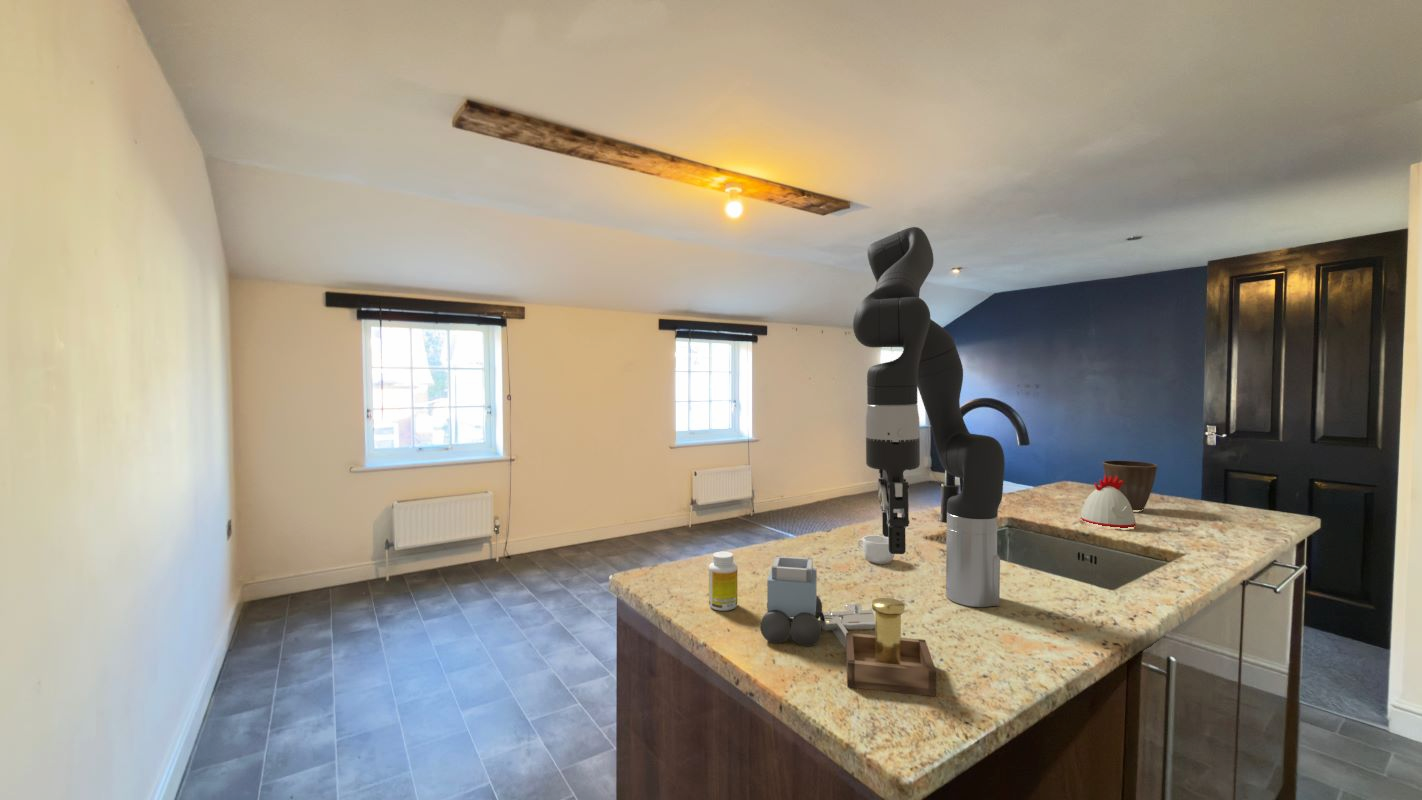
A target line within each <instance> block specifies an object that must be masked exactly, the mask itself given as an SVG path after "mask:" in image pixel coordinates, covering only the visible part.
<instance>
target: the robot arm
mask: <svg viewBox="0 0 1422 800" xmlns="http://www.w3.org/2000/svg"><path fill="white" fill-rule="evenodd" d="M867 247H868V248H867V259H868V263H869V266H870V269H871V273H872V274H873V276H874V279H875V281H876V285H875V287H874V290H873V291H872V292H871V293H869V294H868V295H866V296H865V297H864V298H863V299H862V300H861V302H860V303H859V304H858V306H857V308H856V310H855V313H854V315H853V323H852V329H853V334H854V336H855V338H856V339H857V341H858V342H859V343H860V344H862V345H863V346H865V347H867V348H893V347H894V348H895V347H896V348H897V347H902V349H903V351H902V353H901V355H900V356H899V357H897V358H896V359H894V360H890V361H888V362H881V363H878V364H875V365H872V366H871V367H869V368H868V370H867V373H866V374H867V376H866V386H867V387H866V388H867V390H866V392H867V393H866V394H867V396H866V397H867V398H866V400H867V403H866V404H867V405H866V406H867V408H866V416H865V417H866V418H865V464H866V466H867V467H869V468H870V469H874V470H878V473H879V478H877V488H878V502H879V505H880V507H879V508H880V511H881V512H882V513H881V514H882V515H881V516H882V517H881V521H882V523H881V525H882V527H881V528H882V530H881V531H882V532H881V533H882V536H885V537H888V544H889V552H890V553H891V554H895V555H904V554H905V553H906V552H907V551H906V528H907V527H909V526H910V525H909V524H910V519H909V509H910V508H909V507H910V504H909V503H910V502H909V490H910V486H909V481H907V480H906V478H904V472H905V471H913V470H916V469H918V468H919V467H920V465H921V458H920V456H921V455H920V454H921V453H920V452H921V450H920V446H921V445H920V443H921V441H920V440H921V439H920V435H921V433H920V432H921V431H920V414H919V408H918V392H919V396H920V397H921V401H922V403H923V407H924V409H925V412H926V415H927V417H928V421H929V424H930V425H929V426H930V428H931V433H932V437H933V440H934V445H935V449H936V452H937V456H938V459H939V462H940V464H941V467H942V468H943V470H944V471H945V472H946V473H948V474H949V475H950V476H953V477H956V478H959V479H962V487H961V492H960V493H958V494H956V495H952V496H950V497H949V498H948V499H947V501H946V547H945V548H946V553H945V554H946V556H945V559H946V561H945V563H946V565H945V567H946V568H945V597H946V598H947V599H948V600H950V601H952V602H954V603H956V604H959V605H962V606H966V607H973V608H988V607H992V606H996V607H997V606H999V607H1000V598H1001V597H1000V593H1001V592H1000V589H1001V587H1000V585H1001V583H1000V582H1001V580H1000V579H1001V557H1000V555H998V510H999V507H1000V505H1001V503H1002V501H1003V495H1004V494H1003V491H1004V490H1003V489H1004V479H1005V454H1004V453H1005V452H1004V449H1003V447H1002V445H1001V443H1000V442H999V441H998V440H997V439H996V438H995V437H992V436H989V435H984V434H977V433H970V432H969V429H968V427H967V425H966V422H965V421H964V417H963V415H962V411H961V405H960V403H961V402H960V401H961V394H962V387H963V380H964V368H963V364H962V360H961V357H960V354H959V351H958V348H957V346H956V343H955V341H954V338H953V336H952V335H951V334H950V332H948V330H946V329H945V328H944V327H942V326H941V325H940V324H938V322H935V321H934V320H932V319H931V311H930V309H929V306H928V305H927V303H926V302H925V300H924V299H922V298H920V290H921V288H922V285H924V282H925V281H926V279H927V277H928V275H930V272H931V271H932V269H933V267H934V261H935V260H934V253H933V248H932V246H931V243H930V240H929V238H928V236H927V234H926V233H925V232H924V230H923V229H922V228H920V227H917V226H911V227H907V228H904V229H902V230H900V231H897V232H895V233H893V234H890V235H888V236H885V237H884V238H881V239H878V240H877V241H873V242H872V243H871V244H869V245H868V246H867ZM898 514H900V515H901V516H898Z"/></svg>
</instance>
